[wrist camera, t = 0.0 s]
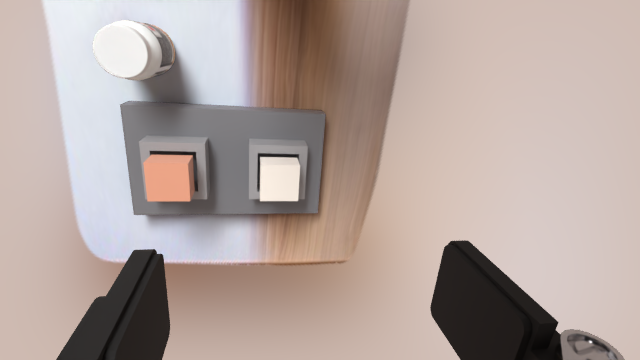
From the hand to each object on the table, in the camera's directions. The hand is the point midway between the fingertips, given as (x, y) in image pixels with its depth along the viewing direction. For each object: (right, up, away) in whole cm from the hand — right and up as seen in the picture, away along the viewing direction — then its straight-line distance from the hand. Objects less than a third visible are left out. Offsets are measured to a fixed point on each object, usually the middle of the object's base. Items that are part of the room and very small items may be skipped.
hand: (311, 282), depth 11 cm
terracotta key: (-17, +4, +28) cm, 33 cm away
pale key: (-5, +4, +30) cm, 31 cm away
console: (-12, +6, +35) cm, 38 cm away
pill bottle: (-20, +19, +29) cm, 40 cm away
